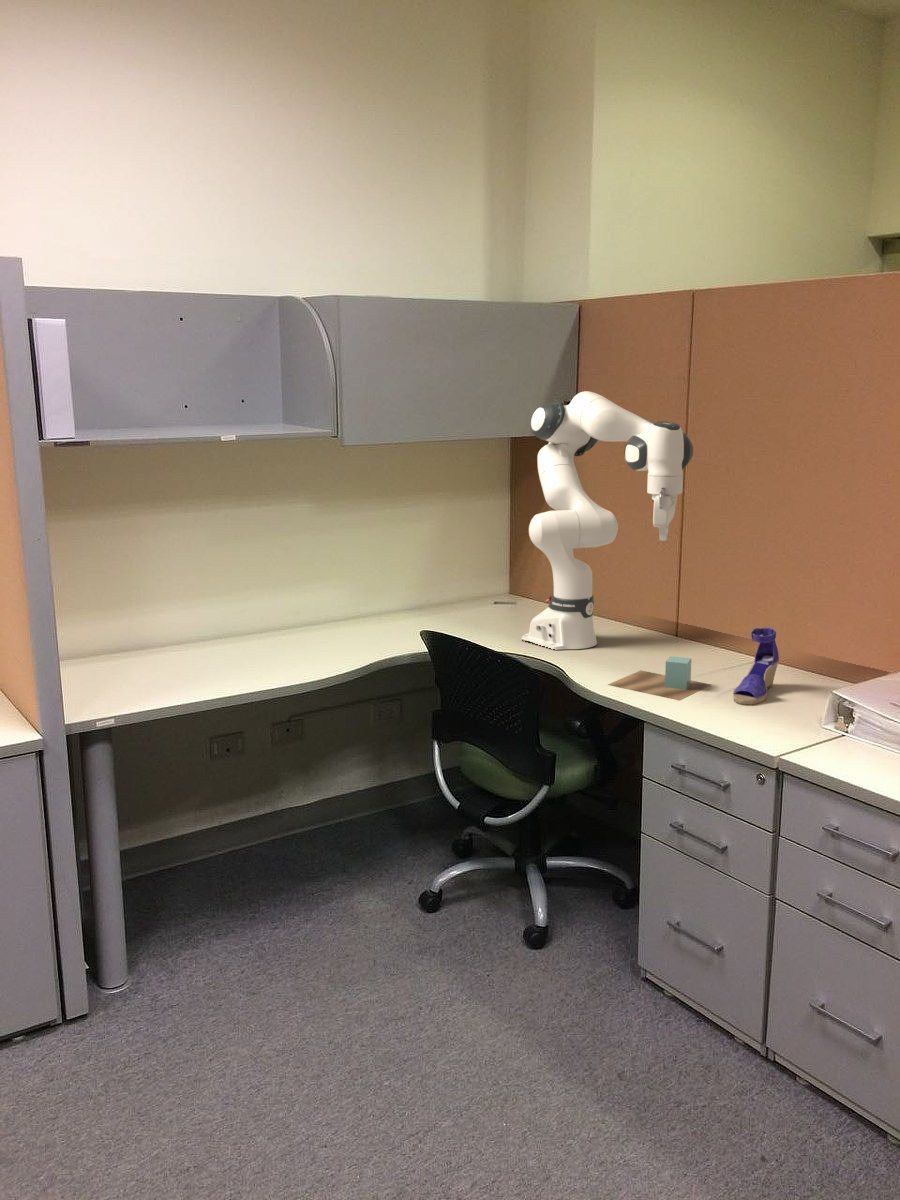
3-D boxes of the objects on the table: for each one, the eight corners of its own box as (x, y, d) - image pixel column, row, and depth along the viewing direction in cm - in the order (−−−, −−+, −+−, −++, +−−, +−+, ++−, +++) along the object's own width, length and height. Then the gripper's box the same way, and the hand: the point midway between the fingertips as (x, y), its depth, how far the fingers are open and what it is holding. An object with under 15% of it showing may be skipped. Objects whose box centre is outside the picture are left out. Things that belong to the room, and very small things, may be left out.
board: (607, 687, 249) (607, 684, 249) (640, 673, 260) (640, 670, 260) (679, 703, 236) (679, 700, 236) (711, 687, 247) (711, 684, 247)
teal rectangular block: (664, 687, 246) (665, 661, 244) (669, 681, 250) (670, 656, 249) (686, 689, 244) (687, 663, 242) (690, 683, 248) (691, 658, 247)
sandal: (720, 700, 238) (723, 639, 235) (760, 681, 252) (763, 623, 249) (752, 707, 232) (755, 645, 229) (791, 688, 246) (794, 629, 243)
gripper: (674, 491, 245) (672, 546, 248) (680, 482, 264) (678, 534, 267) (647, 490, 247) (646, 546, 249) (656, 482, 266) (654, 533, 269)
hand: (663, 540), depth 258 cm, fingers closed
